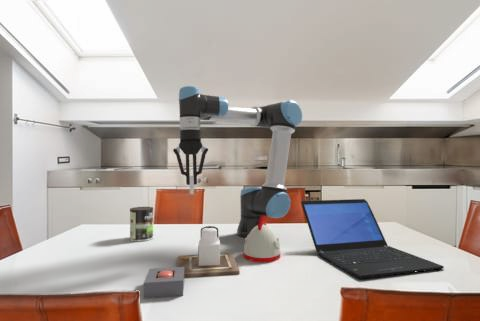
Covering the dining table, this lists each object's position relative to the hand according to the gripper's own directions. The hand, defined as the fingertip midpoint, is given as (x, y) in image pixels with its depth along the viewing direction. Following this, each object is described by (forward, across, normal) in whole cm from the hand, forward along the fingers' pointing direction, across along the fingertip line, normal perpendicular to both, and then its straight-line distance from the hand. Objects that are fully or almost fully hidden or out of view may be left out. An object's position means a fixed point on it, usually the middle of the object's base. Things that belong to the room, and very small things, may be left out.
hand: (191, 193), depth 104 cm
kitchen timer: (+25, +25, -3) cm, 35 cm away
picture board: (+24, +4, -9) cm, 26 cm away
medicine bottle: (+23, +5, -9) cm, 25 cm away
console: (+23, -8, -25) cm, 35 cm away
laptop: (+26, +63, -10) cm, 69 cm away
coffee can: (+24, -23, +32) cm, 46 cm away
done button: (+22, -8, -25) cm, 34 cm away
